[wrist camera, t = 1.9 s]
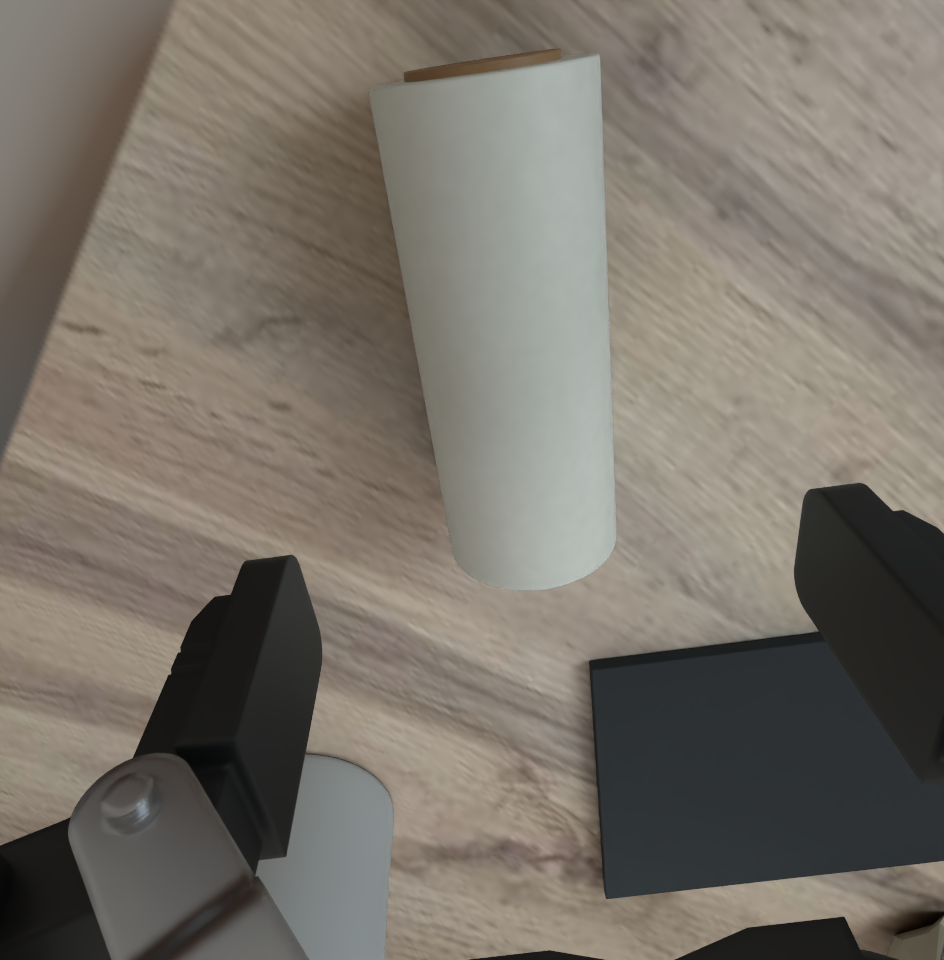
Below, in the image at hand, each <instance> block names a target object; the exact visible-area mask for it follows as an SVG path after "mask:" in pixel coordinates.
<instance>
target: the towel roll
mask: <svg viewBox="0 0 944 960" xmlns="http://www.w3.org/2000/svg"><path fill="white" fill-rule="evenodd" d="M369 98H370V103H371V109H372V114H373V120H374V125H375V131H376V136H377V141H378V147H379V152H380V158H381V163H382V169H383V174H384V180H385V185H386V191H387V196H388V202H389V207H390V213H391V218H392V224H393V229H394V235H395V240H396V246H397V251H398V257H399V262H400V268H401V273H402V279H403V284H404V290H405V295H406V301H407V306H408V312H409V317H410V323H411V328H412V334H413V339H414V345H415V350H416V356H417V361H418V367H419V372H420V378H421V383H422V389H423V394H424V400H425V405H426V411H427V416H428V422H429V427H430V433H431V438H432V444H433V449H434V455H435V460H436V466H437V471H438V477H439V482H440V488H441V493H442V499H443V504H444V510H445V515H446V521H447V526H448V532H449V537H450V543H451V548H452V553H453V556H454V559H455V560H456V562H457V564H458V565H459V566H460V567H461V568H462V570H463V571H464V572H466V573H467V574H468V575H469V576H471V577H472V578H474V579H476V580H478V581H480V582H482V583H485V584H487V585H490V586H494V587H497V588H502V589H508V590H518V591H533V590H544V589H550V588H555V587H559V586H563V585H566V584H569V583H572V582H575V581H577V580H579V579H581V578H583V577H585V576H587V575H589V574H590V573H592V572H593V571H595V570H596V569H597V568H599V567H600V566H601V565H602V564H603V563H604V562H605V561H606V560H607V559H608V557H609V556H610V554H611V553H612V551H613V548H614V546H615V542H616V509H615V480H614V451H613V422H612V392H611V363H610V334H609V305H608V275H607V246H606V217H605V188H604V158H603V129H602V100H601V71H600V56H599V54H597V53H585V54H575V55H566V56H561V49H550V50H542V51H535V52H527V53H520V54H513V55H506V56H499V57H493V58H486V59H479V60H473V61H467V62H460V63H454V64H448V65H442V66H436V67H430V68H424V69H418V70H413V71H408V72H404V80H401V81H396V82H391V83H386V84H381V85H377V86H373V87H371V88H370V89H369Z"/></svg>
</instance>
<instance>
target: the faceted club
mask: <svg viewBox="0 0 944 960" xmlns="http://www.w3.org/2000/svg"><path fill="white" fill-rule="evenodd" d="M943 945H944V915H943V916H942V917H941V918H940V919H939V920H938V921H936V922H935V923H934V924H933V925H930V926H926V927H923V928H919V929H916V930H912V931H908V932H905V933H901V934H898V935H894V937H893V940H892V943H891V945H890V948H889V951H888V954H887V956H888V957H892V958H895V959H898V960H940V957H941V953H942V949H943Z"/></svg>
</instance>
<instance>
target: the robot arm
mask: <svg viewBox="0 0 944 960" xmlns="http://www.w3.org/2000/svg"><path fill="white" fill-rule="evenodd" d="M794 579H795V586H796V590H797V594H798V597H799V599H800V602H801V604H802V606H803V608H804V609H805V611H806V612H807V614H808V615H809V617H810V618H811V620H812V621H813V623H814V624H815V626H816V627H817V629H818V630H819V632H820V633H821V635H822V636H823V638H824V639H825V641H826V642H827V644H828V645H829V647H830V648H831V650H832V651H833V653H834V654H835V656H836V657H837V659H838V660H839V662H840V663H841V665H842V666H843V668H844V669H845V671H846V672H847V674H848V675H849V677H850V678H851V680H852V681H853V683H854V684H855V686H856V687H857V689H858V690H859V692H860V693H861V695H862V696H863V698H864V699H865V701H866V702H867V704H868V705H869V707H870V708H871V710H872V711H873V713H874V714H875V716H876V717H877V719H878V720H879V722H880V723H881V725H882V726H883V728H884V729H885V731H886V732H887V734H888V735H889V737H890V738H891V739H892V741H893V742H894V744H895V745H896V747H897V748H898V750H899V751H900V753H901V754H902V756H903V757H904V759H905V760H906V762H907V763H908V765H909V766H910V768H911V769H912V771H913V772H914V774H915V775H916V777H917V778H918V780H919V781H920V783H921V784H929V783H938V782H944V533H942V532H941V531H940V530H939V529H938V528H937V527H935V526H933V525H931V524H929V523H927V522H925V521H923V520H921V519H919V518H917V517H915V516H913V515H911V514H910V513H908V512H906V511H904V510H900V511H892V510H891V509H890V508H889V507H888V506H887V505H886V504H885V503H884V502H883V501H882V500H881V499H880V498H879V497H878V496H877V495H876V494H875V493H874V492H873V491H872V490H871V489H870V488H869V487H868V486H866V485H865V484H863V483H854V484H847V485H839V486H831V487H824V488H816V489H810V490H808V492H807V493H806V495H805V497H804V500H803V505H802V513H801V520H800V528H799V535H798V543H797V551H796V558H795V566H794ZM180 648H181V652H180V653H178V654H177V656H176V659H175V661H174V663H173V666H172V668H171V675H168V677H167V680H166V682H165V684H164V687H163V689H162V691H161V694H160V696H159V698H158V701H157V703H156V705H155V708H154V710H153V712H152V715H151V717H150V719H149V722H148V724H147V726H146V729H145V731H144V733H143V736H142V738H141V740H140V743H139V745H138V747H137V750H136V752H135V754H134V757H133V758H132V759H130V760H127V761H125V762H123V763H121V764H120V765H118V766H116V767H114V768H113V769H111V770H110V771H108V772H107V773H105V774H104V775H103V776H102V777H100V778H99V779H98V780H97V781H96V782H95V783H94V784H93V785H92V786H91V787H90V788H89V789H88V790H87V791H86V792H85V794H84V795H83V796H82V797H81V799H80V800H79V802H78V804H77V805H76V807H75V809H74V811H73V814H72V816H71V817H70V818H68V819H66V820H63V821H61V822H59V823H56V824H54V825H51V826H49V827H46V828H44V829H41V830H39V831H36V832H34V833H31V834H29V835H26V836H24V837H21V838H19V839H16V840H13V841H11V842H8V843H6V844H3V845H1V846H0V960H309V958H308V957H307V955H306V953H305V952H304V950H303V948H302V947H301V945H300V943H299V942H298V940H297V938H296V937H295V935H294V933H293V932H292V930H291V928H290V927H289V925H288V923H287V922H286V920H285V918H284V917H283V915H282V913H281V912H280V910H279V908H278V907H277V905H276V903H275V902H274V900H273V898H272V897H271V895H270V894H269V892H268V890H267V889H266V887H265V886H264V884H263V882H262V881H261V879H260V878H259V877H258V876H257V877H256V876H255V875H256V871H257V866H258V862H259V860H266V859H274V858H283V857H286V856H287V850H288V845H289V839H290V834H291V829H292V823H293V818H294V812H295V807H296V802H297V796H298V791H299V785H300V780H301V774H302V769H303V764H304V758H305V753H306V747H307V742H308V737H309V731H310V726H311V720H312V715H313V710H314V704H315V699H316V693H317V688H318V682H319V677H320V672H321V666H322V642H321V635H320V630H319V626H318V623H317V619H316V616H315V613H314V610H313V607H312V603H311V600H310V597H309V594H308V591H307V587H306V584H305V581H304V578H303V575H302V571H301V568H300V565H299V563H298V561H297V559H296V557H295V556H294V555H287V556H279V557H272V558H264V559H256V560H249V561H245V562H244V563H243V565H242V567H241V569H240V572H239V574H238V577H237V580H236V582H235V585H234V588H233V590H232V593H231V595H225V596H218V597H214V598H213V599H212V600H211V601H210V602H209V603H208V604H207V605H206V606H205V607H204V609H203V610H202V611H201V612H200V613H199V614H198V615H197V616H196V617H195V618H194V619H193V620H192V621H191V624H190V626H189V628H188V631H187V633H186V635H185V638H184V640H183V642H182V645H181V647H180ZM471 960H603V959H597V958H591V957H585V956H579V955H573V954H567V953H561V952H555V951H550V950H549V951H540V952H532V953H523V954H514V955H506V956H497V957H488V958H479V959H471ZM675 960H898V959H895V958H892V957H888V956H885V955H881V954H878V953H874V952H871V951H866V950H860V949H859V947H858V945H857V942H856V940H855V938H854V936H853V934H852V932H851V930H850V928H849V926H848V924H847V921H846V919H845V917H838V918H829V919H820V920H811V921H803V922H794V923H785V924H776V925H768V926H759V927H750V928H746V929H744V930H741V931H739V932H737V933H735V934H732V935H730V936H728V937H725V938H723V939H721V940H719V941H716V942H714V943H712V944H709V945H707V946H705V947H703V948H700V949H698V950H696V951H694V952H691V953H689V954H687V955H684V956H682V957H680V958H678V959H675ZM940 960H944V945H943V949H942V953H941V957H940Z"/></svg>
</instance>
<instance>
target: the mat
mask: <svg viewBox="0 0 944 960" xmlns="http://www.w3.org/2000/svg"><path fill="white" fill-rule="evenodd" d="M589 665H590V680H591V695H592V711H593V726H594V741H595V757H596V772H597V787H598V802H599V818H600V833H601V848H602V863H603V879H604V891H605V896H606V899H612V898H621V897H630V896H638V895H647V894H656V893H665V892H674V891H682V890H691V889H700V888H709V887H718V886H727V885H735V884H744V883H753V882H762V881H771V880H779V879H788V878H797V877H806V876H815V875H824V874H832V873H841V872H850V871H859V870H868V869H876V868H885V867H894V866H903V865H912V864H920V863H929V862H938V861H944V782H938V783H929V784H921V783H920V781H919V780H918V778H917V777H916V775H915V774H914V772H913V771H912V769H911V768H910V766H909V765H908V763H907V762H906V760H905V759H904V757H903V756H902V754H901V753H900V751H899V750H898V748H897V747H896V745H895V744H894V742H893V741H892V739H891V738H890V737H889V735H888V734H887V732H886V731H885V729H884V728H883V726H882V725H881V723H880V722H879V720H878V719H877V717H876V716H875V714H874V713H873V711H872V710H871V708H870V707H869V705H868V704H867V702H866V701H865V699H864V698H863V696H862V695H861V693H860V692H859V690H858V689H857V687H856V686H855V684H854V683H853V681H852V680H851V678H850V677H849V675H848V674H847V672H846V671H845V669H844V668H843V666H842V665H841V663H840V662H839V660H838V659H837V657H836V656H835V654H834V653H833V651H832V650H831V648H830V647H829V645H828V644H827V642H826V641H825V639H824V638H823V636H822V635H821V633H811V634H803V635H795V636H787V637H779V638H771V639H763V640H755V641H747V642H739V643H731V644H723V645H715V646H707V647H699V648H691V649H683V650H675V651H667V652H659V653H651V654H643V655H635V656H627V657H619V658H611V659H603V660H595V661H590V662H589Z"/></svg>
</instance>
